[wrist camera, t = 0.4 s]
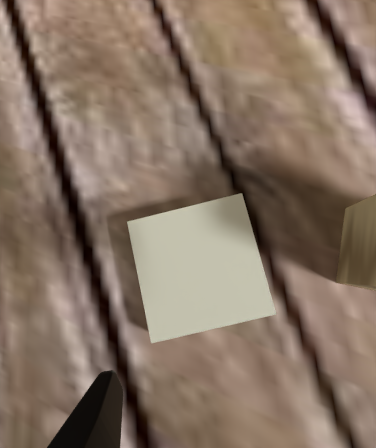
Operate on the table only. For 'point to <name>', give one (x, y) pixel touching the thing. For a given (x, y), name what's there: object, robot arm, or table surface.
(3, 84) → the table surface
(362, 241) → the beige rectangular block
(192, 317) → the top slab
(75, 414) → the robot arm
